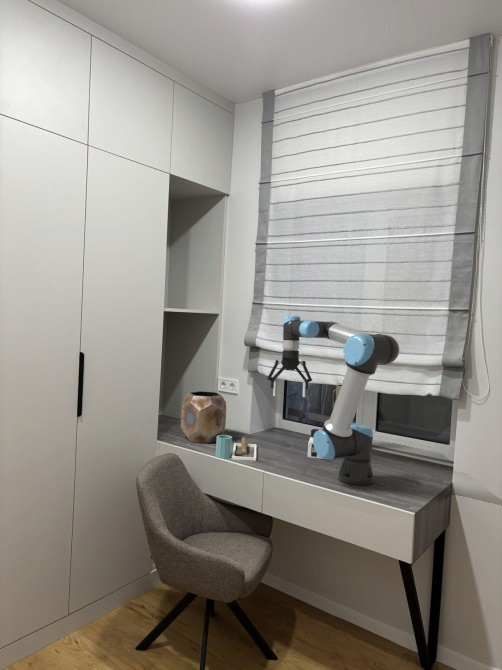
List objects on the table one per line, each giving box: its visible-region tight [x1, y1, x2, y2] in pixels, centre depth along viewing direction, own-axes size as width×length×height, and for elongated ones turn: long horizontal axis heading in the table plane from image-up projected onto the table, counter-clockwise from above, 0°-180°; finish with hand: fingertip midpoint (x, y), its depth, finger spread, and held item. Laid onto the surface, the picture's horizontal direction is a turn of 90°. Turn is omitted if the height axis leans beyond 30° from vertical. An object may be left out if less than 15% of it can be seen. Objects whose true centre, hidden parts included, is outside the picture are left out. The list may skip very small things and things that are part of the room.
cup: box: [215, 434, 233, 459], centre depth 236 cm, size 7×7×10 cm
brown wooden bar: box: [240, 436, 248, 456], centre depth 250 cm, size 6×3×18 cm
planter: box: [180, 390, 227, 444], centre depth 269 cm, size 22×24×24 cm
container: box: [307, 428, 324, 460], centre depth 249 cm, size 8×8×13 cm
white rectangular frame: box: [231, 442, 257, 462], centre depth 244 cm, size 24×11×2 cm, turn 179°
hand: (288, 396), depth 236 cm, fingers open, 13 cm apart
